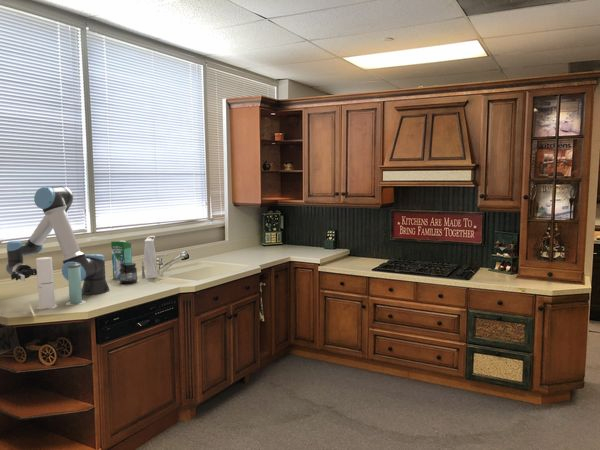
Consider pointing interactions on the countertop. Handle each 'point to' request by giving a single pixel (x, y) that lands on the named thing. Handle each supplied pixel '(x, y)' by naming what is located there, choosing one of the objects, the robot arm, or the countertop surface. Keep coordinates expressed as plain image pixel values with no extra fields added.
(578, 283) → the countertop surface
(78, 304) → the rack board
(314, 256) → the countertop surface
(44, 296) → the tall white block
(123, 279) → the supplement container
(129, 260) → the milk carton
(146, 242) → the skyscraper
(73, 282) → the teal tube
